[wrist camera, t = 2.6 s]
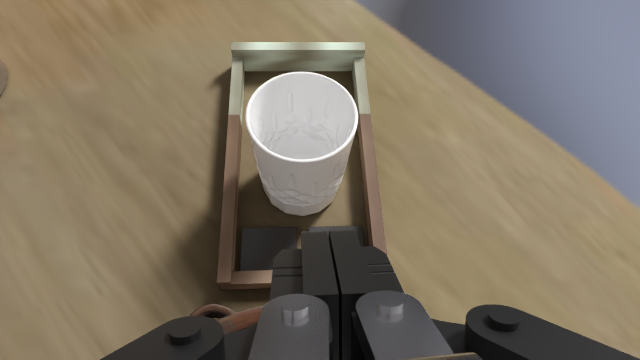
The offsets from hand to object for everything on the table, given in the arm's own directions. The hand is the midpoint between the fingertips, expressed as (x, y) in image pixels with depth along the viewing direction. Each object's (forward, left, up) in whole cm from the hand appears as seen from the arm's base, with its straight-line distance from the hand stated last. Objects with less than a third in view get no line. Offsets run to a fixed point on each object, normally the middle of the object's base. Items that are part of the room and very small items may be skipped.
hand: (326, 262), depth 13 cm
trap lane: (0, +17, -23) cm, 29 cm away
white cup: (0, +15, -24) cm, 28 cm away
